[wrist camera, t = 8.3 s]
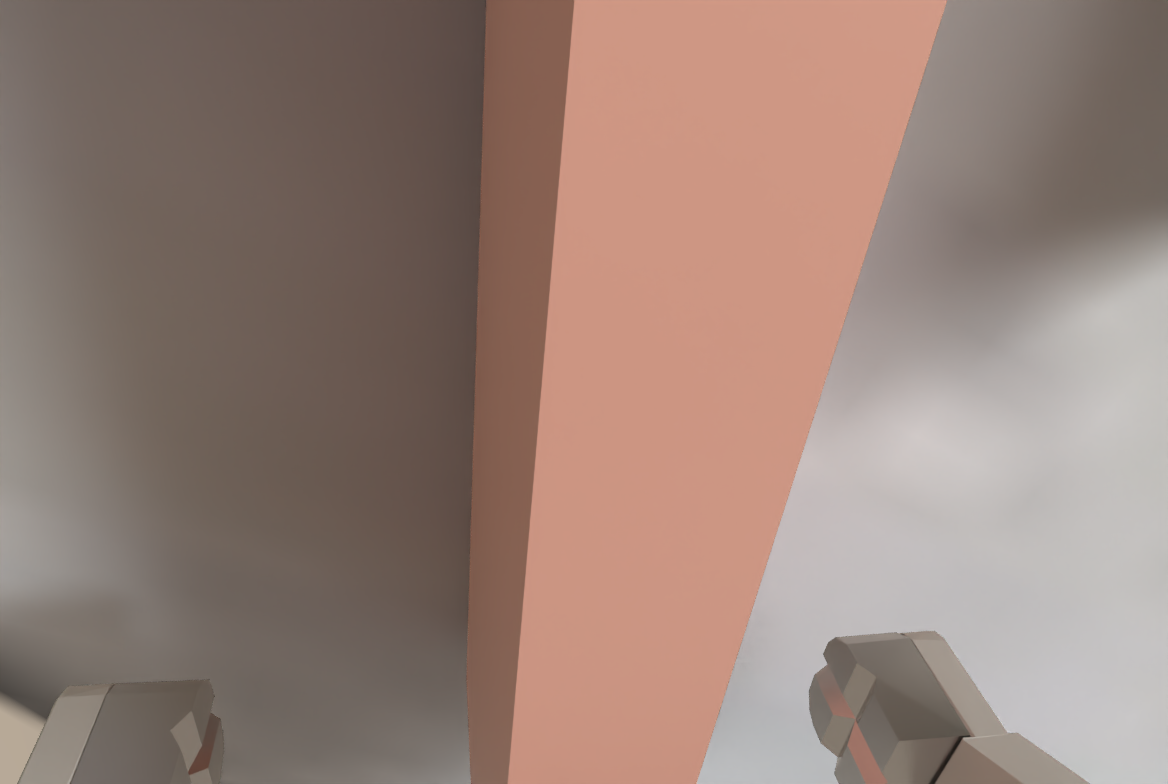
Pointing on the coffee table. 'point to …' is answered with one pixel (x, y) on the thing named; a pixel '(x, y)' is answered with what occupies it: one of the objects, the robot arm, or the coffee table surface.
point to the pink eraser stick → (656, 348)
